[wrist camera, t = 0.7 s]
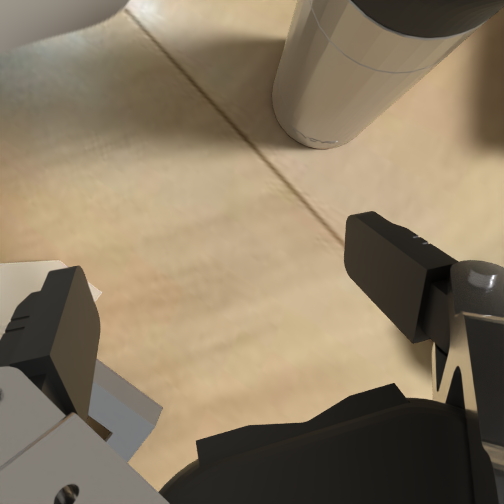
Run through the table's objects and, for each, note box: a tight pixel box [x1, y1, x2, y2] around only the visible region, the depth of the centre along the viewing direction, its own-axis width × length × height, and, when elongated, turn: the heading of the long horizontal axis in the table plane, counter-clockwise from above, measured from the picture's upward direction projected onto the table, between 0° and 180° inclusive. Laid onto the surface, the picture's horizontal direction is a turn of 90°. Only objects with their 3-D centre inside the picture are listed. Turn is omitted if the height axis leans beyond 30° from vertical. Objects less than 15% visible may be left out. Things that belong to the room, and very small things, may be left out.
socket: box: [88, 359, 163, 462], centre depth 30 cm, size 11×11×4 cm
